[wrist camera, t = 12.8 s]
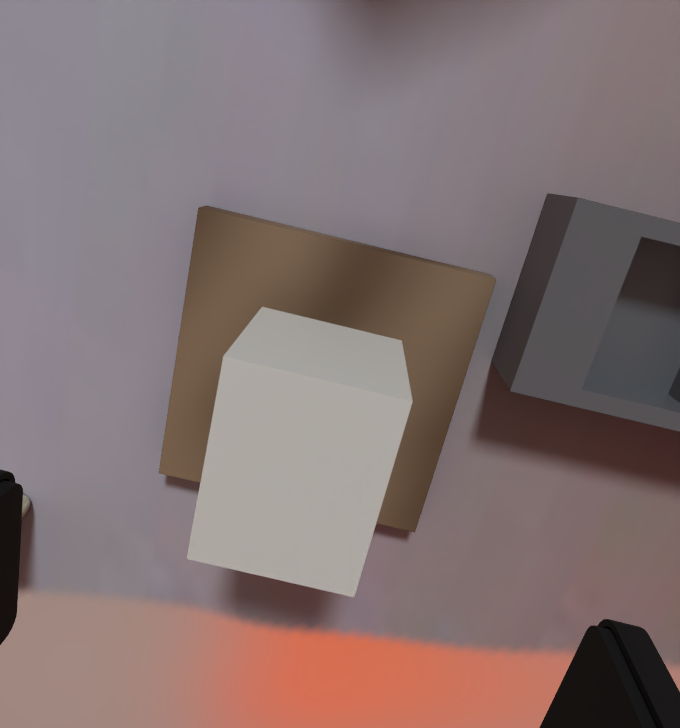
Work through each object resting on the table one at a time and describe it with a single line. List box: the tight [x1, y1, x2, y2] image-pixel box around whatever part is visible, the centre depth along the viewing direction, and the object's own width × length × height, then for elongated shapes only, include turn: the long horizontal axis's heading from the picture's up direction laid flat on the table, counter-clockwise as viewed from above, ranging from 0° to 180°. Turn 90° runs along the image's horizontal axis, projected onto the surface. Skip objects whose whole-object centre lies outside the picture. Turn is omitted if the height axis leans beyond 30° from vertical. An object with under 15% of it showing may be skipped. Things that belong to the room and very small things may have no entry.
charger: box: [187, 307, 413, 597], centre depth 18 cm, size 4×6×7 cm
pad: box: [159, 206, 496, 532], centre depth 21 cm, size 10×10×1 cm
